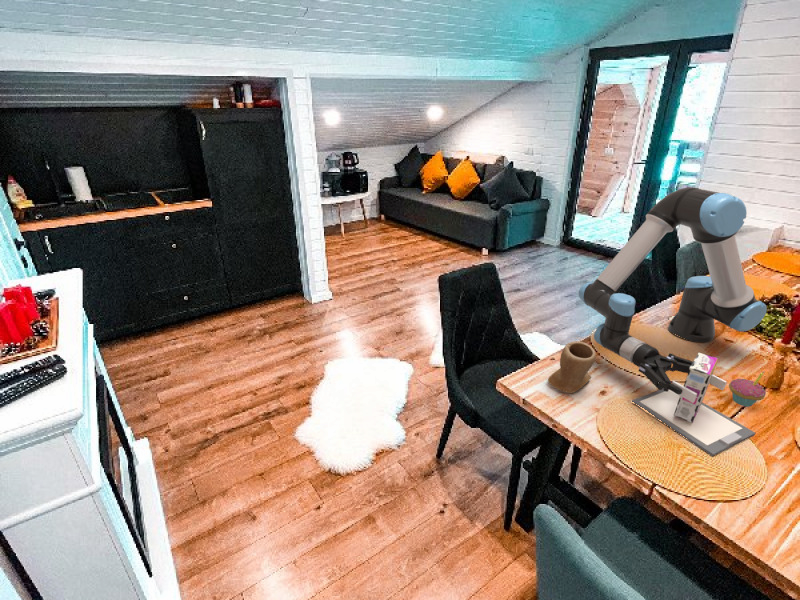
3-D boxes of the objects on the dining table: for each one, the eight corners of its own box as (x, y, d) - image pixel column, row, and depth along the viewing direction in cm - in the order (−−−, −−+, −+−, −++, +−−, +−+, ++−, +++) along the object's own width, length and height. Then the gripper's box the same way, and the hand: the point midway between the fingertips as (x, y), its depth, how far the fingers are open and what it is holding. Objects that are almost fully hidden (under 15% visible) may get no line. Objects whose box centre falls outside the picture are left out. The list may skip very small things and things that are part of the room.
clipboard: (671, 386, 134) (672, 382, 133) (754, 435, 114) (756, 430, 113) (631, 402, 127) (632, 398, 127) (712, 456, 108) (714, 451, 107)
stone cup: (576, 402, 128) (584, 360, 122) (542, 384, 137) (548, 344, 130) (601, 382, 137) (609, 343, 130) (567, 367, 145) (574, 329, 139)
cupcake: (761, 401, 127) (775, 367, 122) (758, 415, 121) (772, 380, 116) (727, 389, 132) (739, 357, 127) (722, 402, 127) (734, 369, 122)
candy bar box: (693, 424, 116) (710, 375, 109) (672, 416, 119) (688, 367, 112) (702, 405, 123) (719, 357, 116) (682, 397, 126) (697, 351, 119)
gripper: (663, 354, 138) (733, 391, 120) (609, 373, 129) (676, 415, 111) (668, 334, 135) (741, 369, 117) (614, 352, 126) (684, 392, 108)
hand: (710, 392), depth 114 cm, fingers open, 12 cm apart
